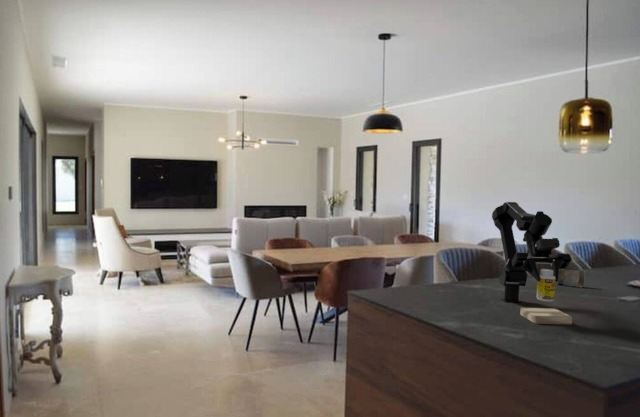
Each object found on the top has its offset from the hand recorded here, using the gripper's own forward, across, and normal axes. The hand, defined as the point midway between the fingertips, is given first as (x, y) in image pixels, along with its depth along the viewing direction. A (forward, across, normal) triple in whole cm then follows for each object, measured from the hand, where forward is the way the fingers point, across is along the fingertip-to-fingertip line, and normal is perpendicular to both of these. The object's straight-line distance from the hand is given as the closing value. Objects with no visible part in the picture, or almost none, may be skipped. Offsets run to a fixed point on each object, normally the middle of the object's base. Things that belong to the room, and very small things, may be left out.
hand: (548, 280), depth 173 cm
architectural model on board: (-37, +42, +58) cm, 81 cm away
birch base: (+9, 0, +10) cm, 13 cm away
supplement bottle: (+4, 0, +6) cm, 7 cm away
